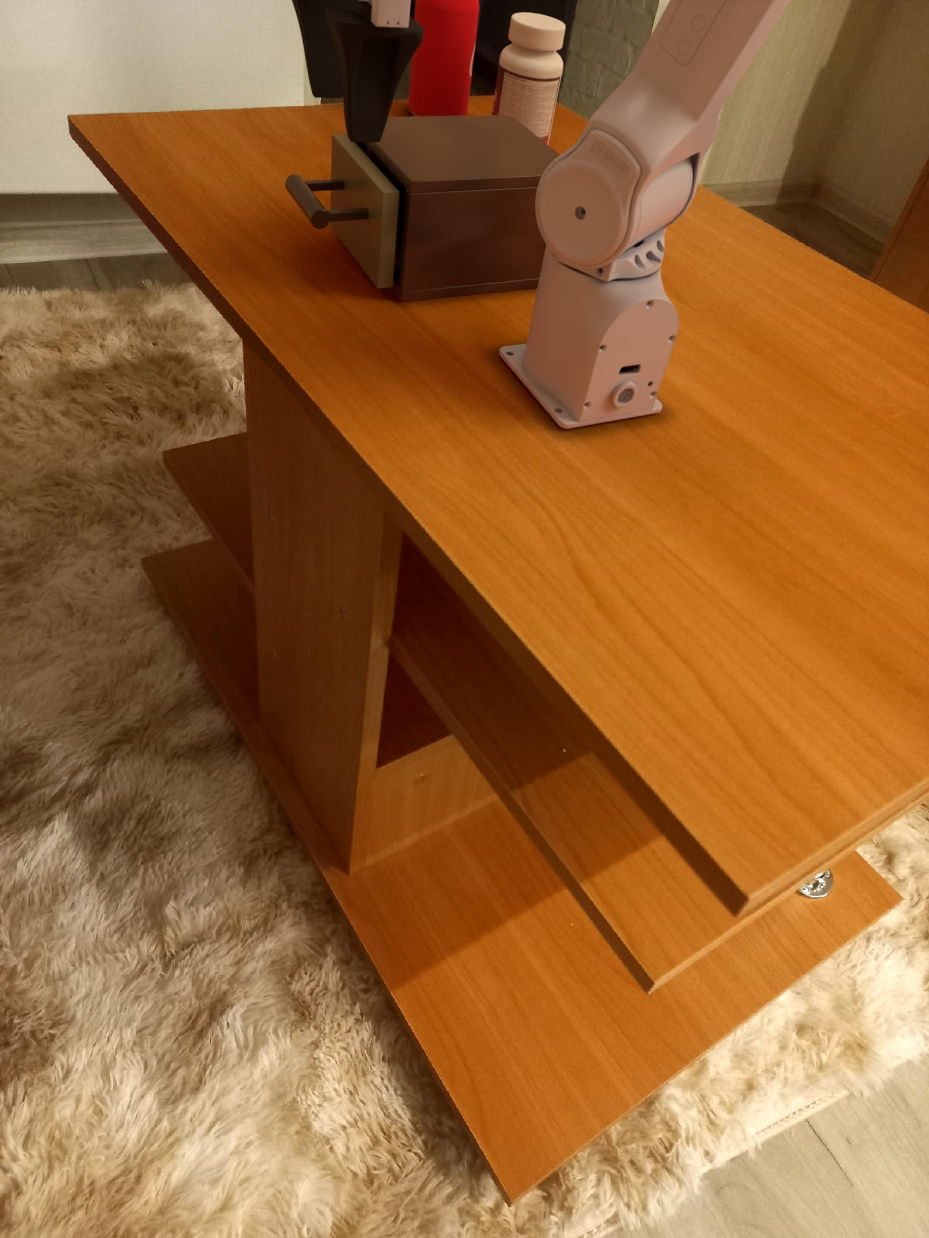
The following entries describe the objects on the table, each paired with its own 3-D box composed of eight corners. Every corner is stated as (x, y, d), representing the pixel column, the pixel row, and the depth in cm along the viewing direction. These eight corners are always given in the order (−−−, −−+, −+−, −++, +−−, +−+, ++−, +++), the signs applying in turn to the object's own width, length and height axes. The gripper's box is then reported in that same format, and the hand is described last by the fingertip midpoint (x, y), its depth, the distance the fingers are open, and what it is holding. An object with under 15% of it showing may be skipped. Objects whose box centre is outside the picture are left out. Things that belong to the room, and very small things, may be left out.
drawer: (321, 294, 62) (322, 196, 57) (277, 229, 68) (274, 135, 63) (526, 274, 68) (543, 184, 63) (470, 216, 74) (481, 130, 69)
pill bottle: (498, 134, 91) (517, 6, 83) (554, 149, 90) (578, 21, 82) (478, 151, 87) (496, 18, 79) (536, 168, 86) (560, 35, 78)
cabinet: (401, 302, 64) (411, 181, 58) (347, 232, 71) (351, 117, 65) (558, 286, 69) (583, 173, 63) (494, 222, 76) (511, 114, 70)
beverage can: (468, 114, 94) (484, -20, 85) (463, 133, 90) (479, -6, 81) (411, 104, 94) (422, -32, 85) (403, 123, 90) (413, -18, 81)
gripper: (251, -179, 52) (257, 77, 62) (328, -122, 44) (321, 163, 53) (363, -164, 54) (352, 79, 64) (456, -108, 46) (427, 161, 56)
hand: (345, 117), depth 59 cm, fingers open, 7 cm apart
